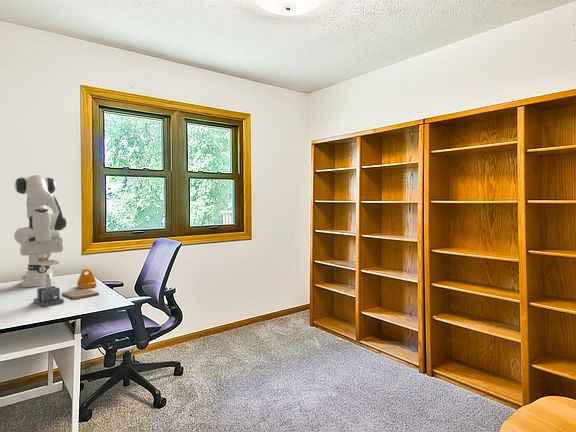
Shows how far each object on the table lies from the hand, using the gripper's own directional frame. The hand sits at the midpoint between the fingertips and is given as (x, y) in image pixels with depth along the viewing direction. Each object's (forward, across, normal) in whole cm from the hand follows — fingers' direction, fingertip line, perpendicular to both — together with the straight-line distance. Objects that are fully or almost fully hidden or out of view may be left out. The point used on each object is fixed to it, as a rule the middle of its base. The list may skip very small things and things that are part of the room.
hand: (42, 261), depth 201 cm
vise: (+22, 0, +10) cm, 24 cm away
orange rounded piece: (+23, -29, -12) cm, 39 cm away
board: (+22, -18, +5) cm, 29 cm away
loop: (0, 0, +4) cm, 5 cm away
